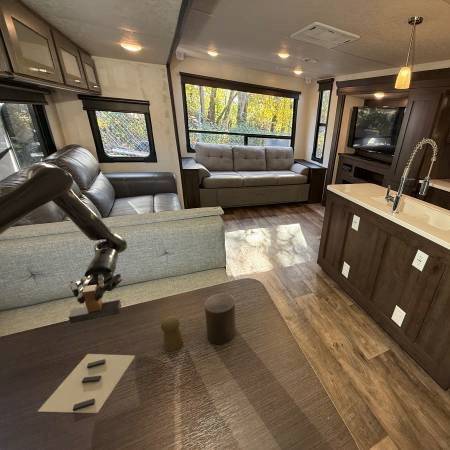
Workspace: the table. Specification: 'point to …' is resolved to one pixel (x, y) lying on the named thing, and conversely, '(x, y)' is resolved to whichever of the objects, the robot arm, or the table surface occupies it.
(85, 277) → the robot arm
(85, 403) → the mark
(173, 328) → the cork
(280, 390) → the table surface
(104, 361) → the mark
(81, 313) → the wooden handled grey block
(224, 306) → the pillar candle
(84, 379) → the mark
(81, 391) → the memo board
